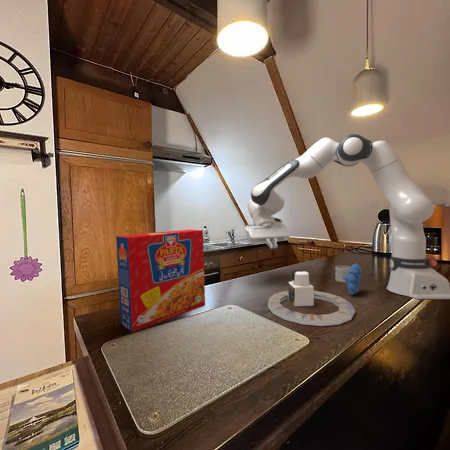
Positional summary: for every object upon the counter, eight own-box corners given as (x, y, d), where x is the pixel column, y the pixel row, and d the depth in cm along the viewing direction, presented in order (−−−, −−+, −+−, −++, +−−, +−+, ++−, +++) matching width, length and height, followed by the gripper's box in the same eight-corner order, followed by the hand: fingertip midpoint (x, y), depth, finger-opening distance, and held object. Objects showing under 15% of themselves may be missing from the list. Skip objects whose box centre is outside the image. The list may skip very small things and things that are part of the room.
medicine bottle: (288, 299, 96) (288, 268, 96) (306, 299, 97) (306, 268, 96) (294, 306, 89) (293, 273, 88) (314, 306, 89) (313, 273, 89)
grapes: (347, 287, 109) (347, 260, 108) (365, 291, 104) (365, 262, 103) (338, 295, 100) (338, 265, 99) (356, 298, 95) (357, 267, 95)
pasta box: (132, 333, 73) (127, 237, 71) (120, 324, 78) (116, 236, 77) (205, 305, 93) (202, 230, 91) (191, 300, 98) (189, 229, 97)
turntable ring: (344, 296, 98) (344, 291, 98) (364, 329, 71) (364, 323, 71) (271, 292, 105) (271, 287, 105) (264, 321, 78) (264, 315, 78)
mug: (352, 282, 116) (352, 268, 115) (337, 282, 117) (337, 268, 117) (346, 277, 125) (346, 263, 125) (332, 276, 127) (332, 263, 126)
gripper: (245, 220, 114) (254, 244, 105) (284, 219, 120) (296, 241, 111) (241, 229, 119) (250, 253, 110) (280, 227, 125) (291, 250, 116)
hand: (274, 247), depth 111 cm, fingers closed
